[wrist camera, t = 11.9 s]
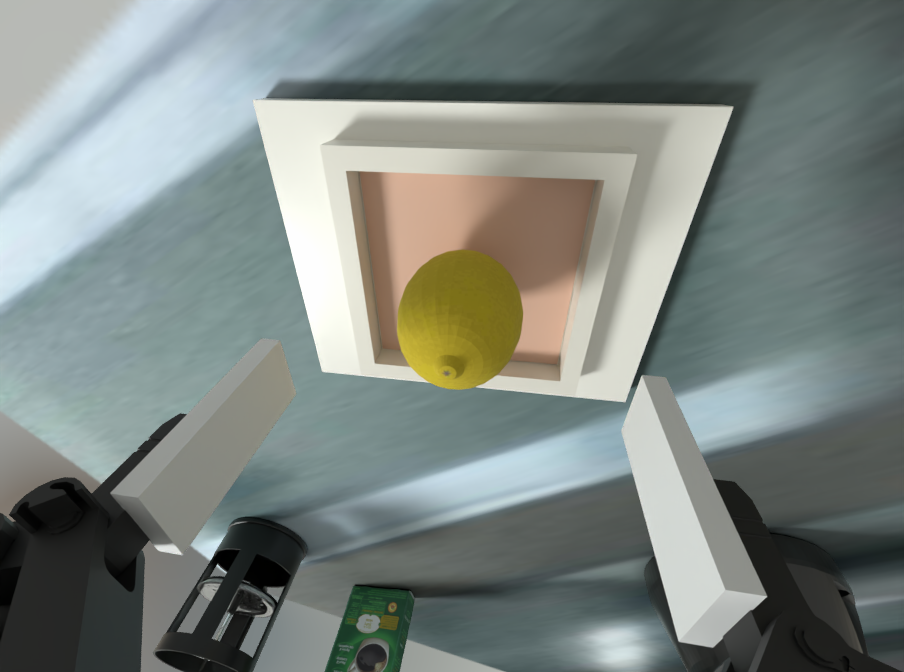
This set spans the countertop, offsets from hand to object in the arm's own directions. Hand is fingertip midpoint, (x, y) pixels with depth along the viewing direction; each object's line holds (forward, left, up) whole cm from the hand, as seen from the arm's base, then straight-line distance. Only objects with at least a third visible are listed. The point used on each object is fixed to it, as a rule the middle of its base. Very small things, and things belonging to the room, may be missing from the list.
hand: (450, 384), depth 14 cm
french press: (+23, +37, -9) cm, 44 cm away
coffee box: (+10, +46, -9) cm, 48 cm away
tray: (0, 0, -9) cm, 9 cm away
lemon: (0, 0, -8) cm, 8 cm away
